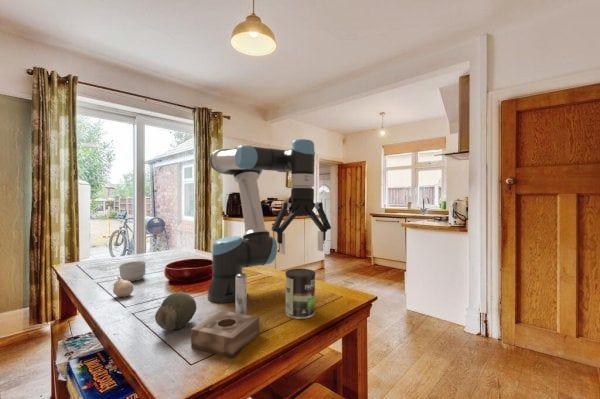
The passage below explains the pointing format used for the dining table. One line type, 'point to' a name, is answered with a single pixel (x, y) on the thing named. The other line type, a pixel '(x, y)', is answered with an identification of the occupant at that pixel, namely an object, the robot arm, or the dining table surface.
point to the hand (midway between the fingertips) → (301, 252)
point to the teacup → (132, 270)
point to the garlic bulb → (122, 288)
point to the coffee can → (300, 293)
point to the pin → (241, 294)
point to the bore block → (225, 333)
